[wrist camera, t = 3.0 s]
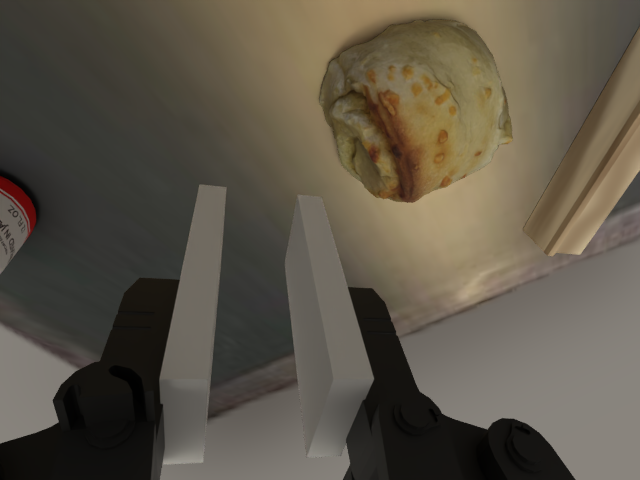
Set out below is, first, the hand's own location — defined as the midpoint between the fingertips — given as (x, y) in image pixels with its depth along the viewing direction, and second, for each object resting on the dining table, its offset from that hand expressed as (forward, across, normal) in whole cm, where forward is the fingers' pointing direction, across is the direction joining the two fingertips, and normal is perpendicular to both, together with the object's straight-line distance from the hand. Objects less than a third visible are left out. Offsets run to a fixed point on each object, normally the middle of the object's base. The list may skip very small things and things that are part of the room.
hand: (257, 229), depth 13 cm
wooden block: (+18, +29, 0) cm, 34 cm away
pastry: (+19, +12, 0) cm, 22 cm away
